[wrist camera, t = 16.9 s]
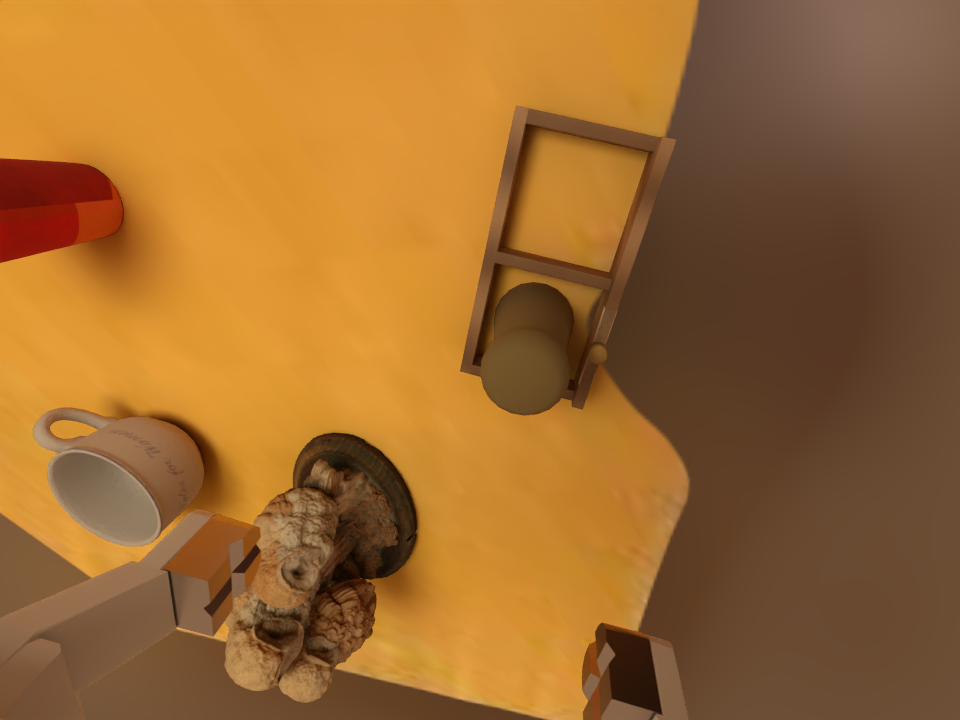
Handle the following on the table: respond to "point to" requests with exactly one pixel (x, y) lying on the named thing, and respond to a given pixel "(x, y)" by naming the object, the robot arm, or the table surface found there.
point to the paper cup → (53, 206)
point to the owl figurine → (319, 568)
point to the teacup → (122, 474)
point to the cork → (528, 350)
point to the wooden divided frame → (610, 282)
